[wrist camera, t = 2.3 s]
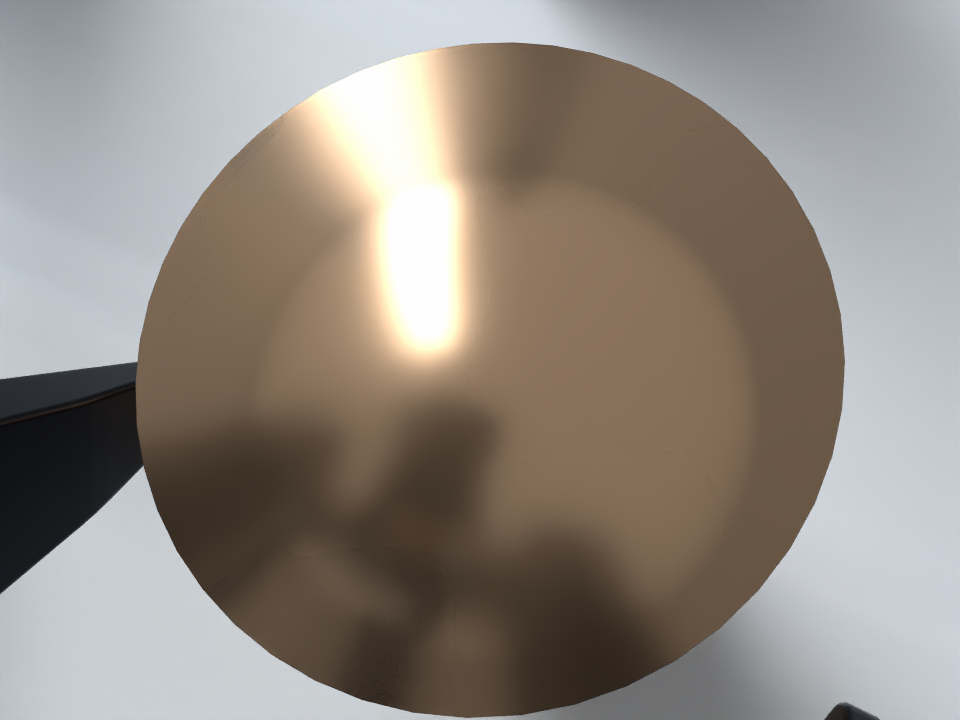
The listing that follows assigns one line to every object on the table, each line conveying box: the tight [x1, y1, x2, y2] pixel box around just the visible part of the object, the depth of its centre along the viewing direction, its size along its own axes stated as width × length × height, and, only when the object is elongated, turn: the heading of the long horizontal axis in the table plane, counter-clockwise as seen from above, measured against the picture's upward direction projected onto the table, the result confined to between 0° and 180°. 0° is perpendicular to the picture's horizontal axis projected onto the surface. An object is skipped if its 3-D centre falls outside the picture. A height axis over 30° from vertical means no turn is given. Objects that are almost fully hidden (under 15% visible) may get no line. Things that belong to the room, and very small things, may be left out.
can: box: [136, 43, 845, 718], centre depth 12 cm, size 5×5×13 cm
